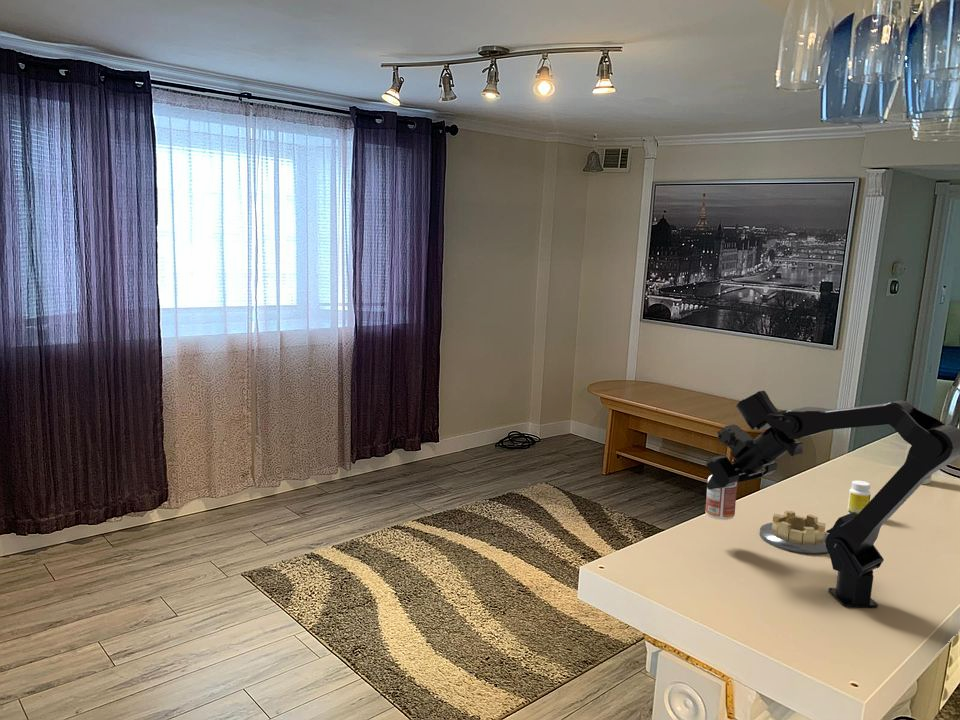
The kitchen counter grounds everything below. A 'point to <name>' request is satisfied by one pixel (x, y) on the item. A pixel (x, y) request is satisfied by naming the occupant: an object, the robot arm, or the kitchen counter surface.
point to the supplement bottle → (858, 496)
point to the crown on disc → (796, 533)
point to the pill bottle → (721, 502)
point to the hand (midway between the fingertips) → (716, 484)
